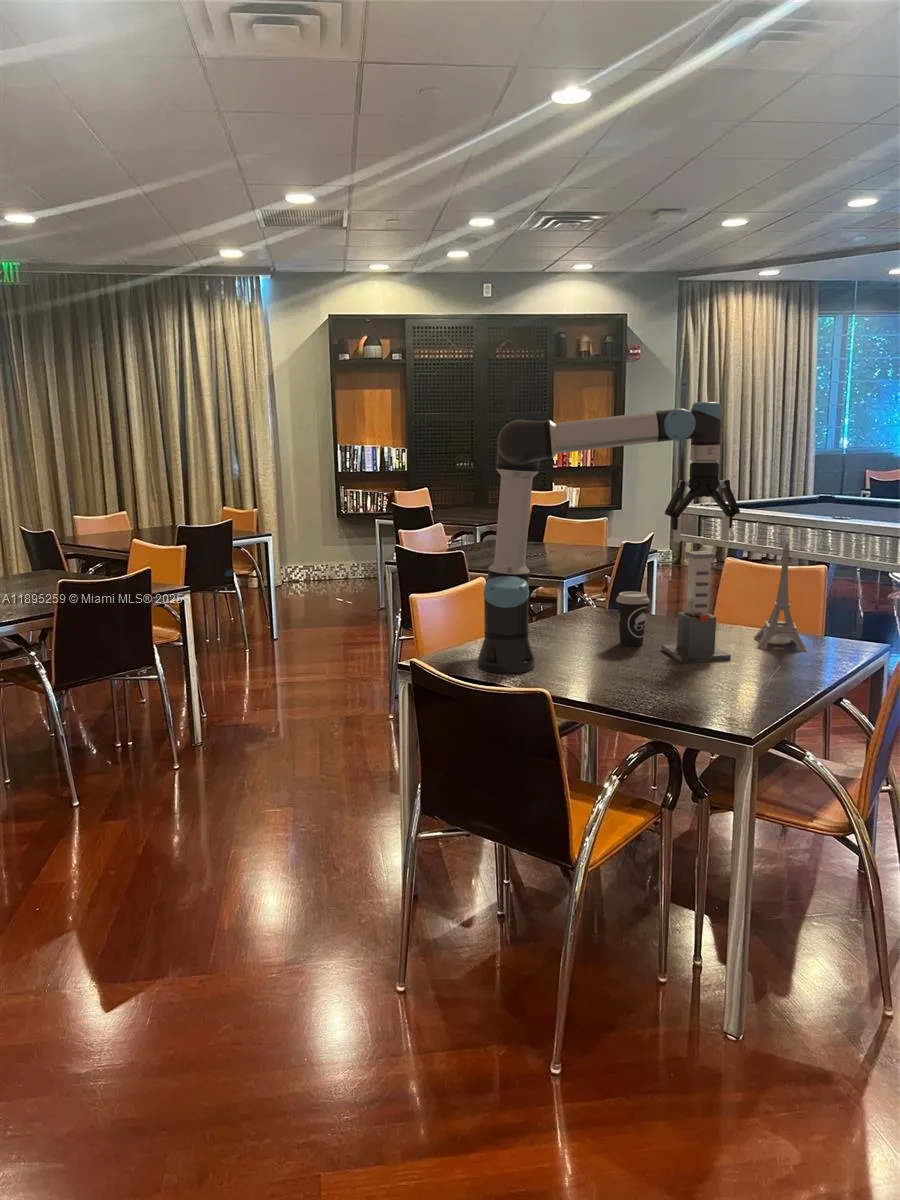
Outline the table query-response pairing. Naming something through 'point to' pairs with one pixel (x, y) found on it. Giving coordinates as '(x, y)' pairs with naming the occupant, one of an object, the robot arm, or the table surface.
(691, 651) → the stand base
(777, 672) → the table surface
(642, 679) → the table surface
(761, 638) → the eiffel tower
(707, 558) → the column
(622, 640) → the coffee cup
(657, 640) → the table surface
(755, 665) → the table surface
